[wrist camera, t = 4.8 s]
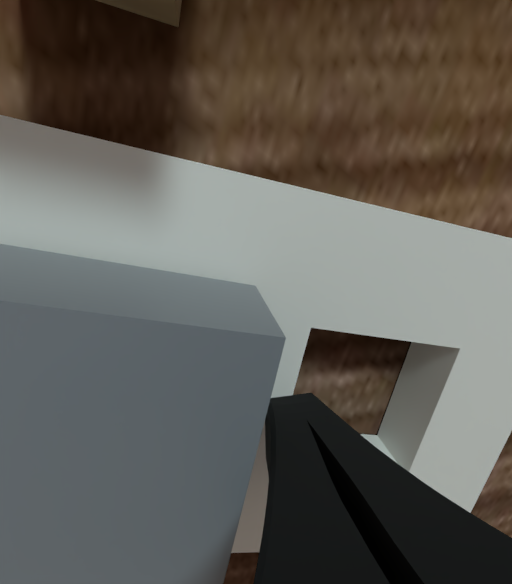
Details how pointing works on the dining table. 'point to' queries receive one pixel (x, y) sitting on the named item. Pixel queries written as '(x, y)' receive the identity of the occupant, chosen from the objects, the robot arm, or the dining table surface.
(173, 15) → the maple peg
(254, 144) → the dining table surface
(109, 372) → the grey cover
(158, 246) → the socket plate
